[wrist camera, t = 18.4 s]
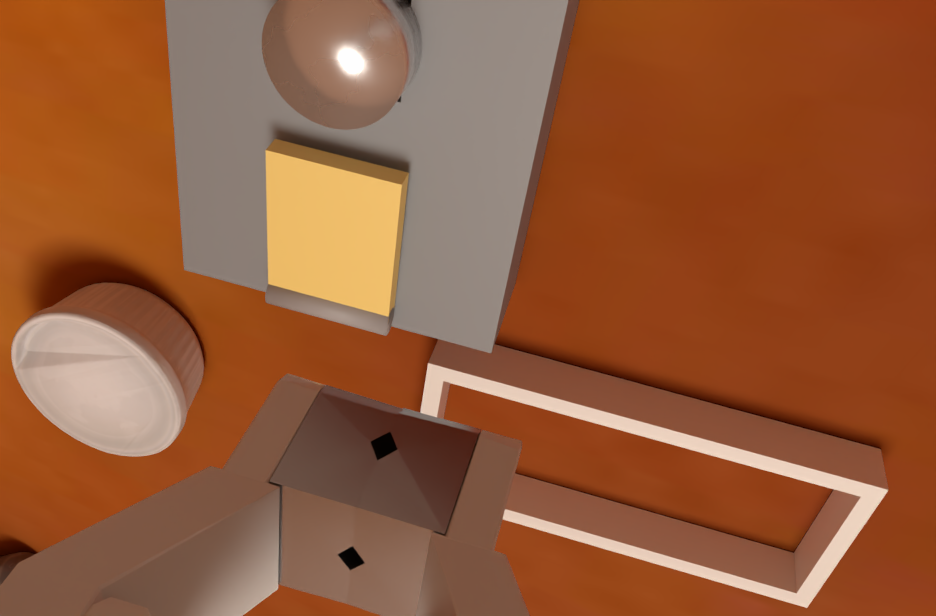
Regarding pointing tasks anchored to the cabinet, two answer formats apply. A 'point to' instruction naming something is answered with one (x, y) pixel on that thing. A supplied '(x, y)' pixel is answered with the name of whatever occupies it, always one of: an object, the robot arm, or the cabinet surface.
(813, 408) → the cabinet surface
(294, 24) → the steel peg
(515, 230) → the hitch block
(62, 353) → the ramekin
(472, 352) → the rectangular frame
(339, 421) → the robot arm
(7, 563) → the pipe fitting
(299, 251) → the yellow rectangular slab
